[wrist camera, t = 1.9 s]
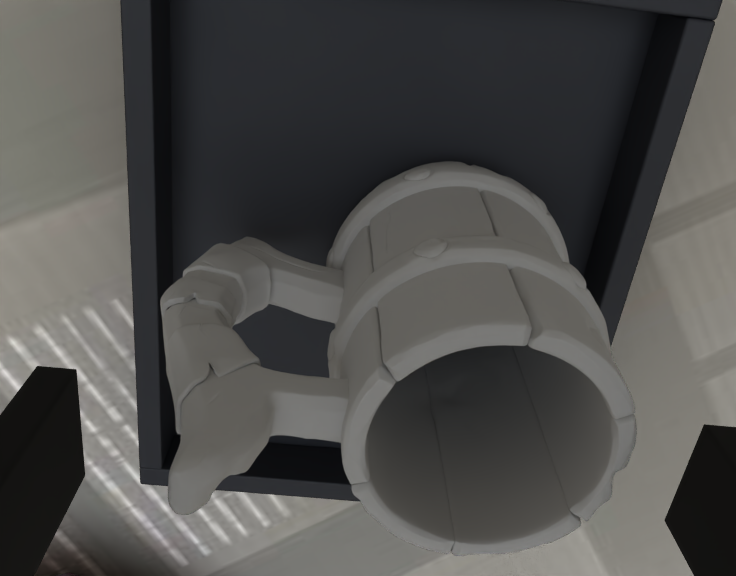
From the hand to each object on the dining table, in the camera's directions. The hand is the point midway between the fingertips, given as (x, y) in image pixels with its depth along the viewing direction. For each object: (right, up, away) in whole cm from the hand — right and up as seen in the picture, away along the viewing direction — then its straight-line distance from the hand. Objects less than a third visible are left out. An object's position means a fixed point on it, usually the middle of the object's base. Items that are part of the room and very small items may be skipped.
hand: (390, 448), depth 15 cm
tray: (0, +5, +9) cm, 10 cm away
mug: (0, +5, +9) cm, 10 cm away
